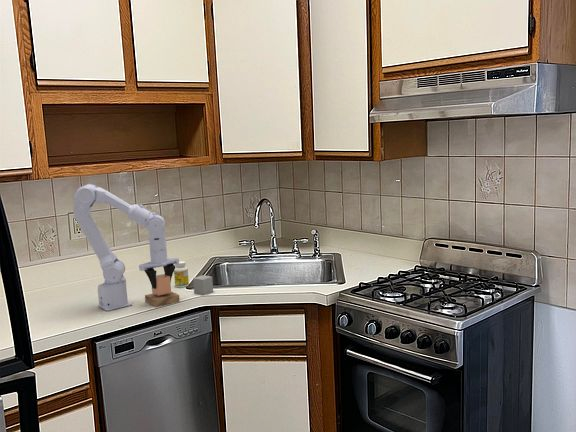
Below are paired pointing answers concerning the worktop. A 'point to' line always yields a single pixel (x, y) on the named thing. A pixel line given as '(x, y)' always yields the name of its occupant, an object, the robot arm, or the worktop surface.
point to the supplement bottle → (181, 275)
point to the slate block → (203, 285)
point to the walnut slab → (161, 299)
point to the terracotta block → (162, 285)
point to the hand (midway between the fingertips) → (161, 286)
